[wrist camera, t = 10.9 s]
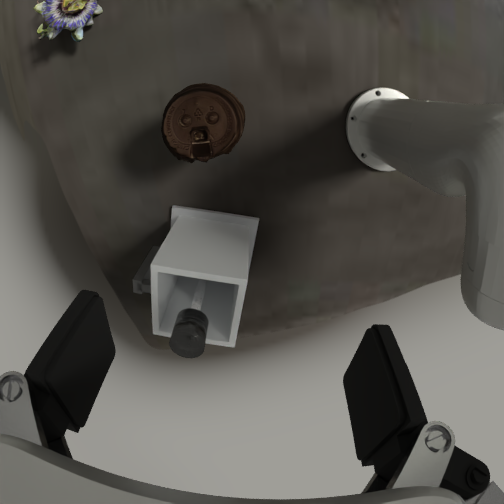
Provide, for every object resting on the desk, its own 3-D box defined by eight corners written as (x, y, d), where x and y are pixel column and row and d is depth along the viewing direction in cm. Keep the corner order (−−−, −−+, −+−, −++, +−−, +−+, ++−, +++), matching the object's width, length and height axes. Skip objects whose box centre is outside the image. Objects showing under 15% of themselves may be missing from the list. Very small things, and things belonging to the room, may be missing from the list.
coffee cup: (221, 160, 40) (208, 184, 29) (173, 128, 38) (140, 141, 26) (258, 110, 37) (260, 113, 25) (208, 77, 34) (188, 66, 23)
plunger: (240, 232, 44) (231, 323, 27) (232, 277, 48) (222, 376, 31) (186, 224, 44) (145, 309, 26) (182, 270, 48) (150, 363, 30)
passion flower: (112, 18, 32) (93, 41, 27) (56, 34, 31) (29, 63, 25) (107, -37, 22) (83, -28, 17) (46, -17, 21) (12, 2, 15)
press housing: (258, 217, 44) (261, 271, 31) (245, 288, 50) (242, 354, 37) (160, 203, 43) (123, 250, 30) (158, 274, 49) (131, 335, 36)
